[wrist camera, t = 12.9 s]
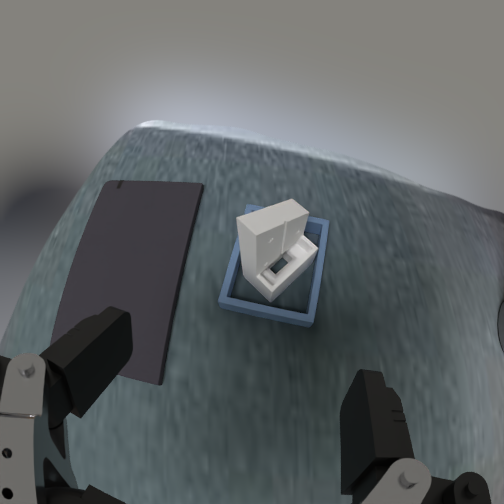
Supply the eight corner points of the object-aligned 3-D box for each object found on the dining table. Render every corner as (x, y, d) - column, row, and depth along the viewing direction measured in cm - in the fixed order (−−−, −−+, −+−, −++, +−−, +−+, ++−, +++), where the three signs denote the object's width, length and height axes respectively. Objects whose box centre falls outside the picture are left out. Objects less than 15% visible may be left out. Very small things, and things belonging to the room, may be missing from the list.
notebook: (163, 385, 24) (204, 191, 33) (157, 385, 22) (202, 182, 32) (56, 353, 25) (110, 187, 34) (48, 351, 23) (105, 179, 33)
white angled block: (203, 298, 24) (236, 217, 19) (274, 258, 31) (312, 192, 26) (232, 329, 23) (277, 254, 18) (299, 281, 30) (343, 217, 25)
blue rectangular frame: (325, 230, 30) (329, 220, 28) (309, 327, 26) (313, 322, 24) (247, 215, 31) (247, 203, 29) (220, 307, 26) (217, 301, 25)
